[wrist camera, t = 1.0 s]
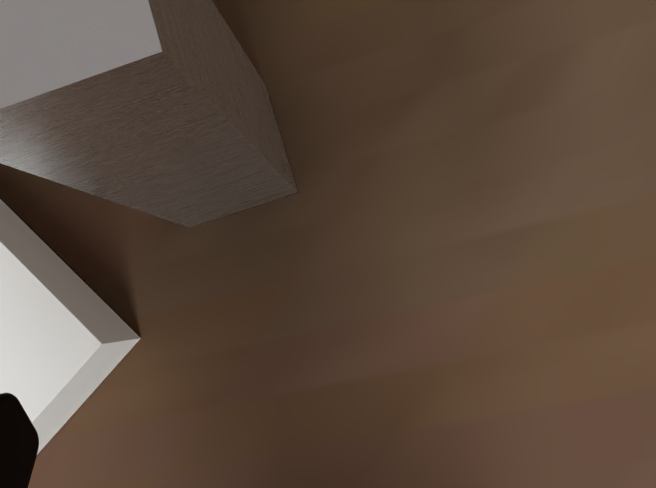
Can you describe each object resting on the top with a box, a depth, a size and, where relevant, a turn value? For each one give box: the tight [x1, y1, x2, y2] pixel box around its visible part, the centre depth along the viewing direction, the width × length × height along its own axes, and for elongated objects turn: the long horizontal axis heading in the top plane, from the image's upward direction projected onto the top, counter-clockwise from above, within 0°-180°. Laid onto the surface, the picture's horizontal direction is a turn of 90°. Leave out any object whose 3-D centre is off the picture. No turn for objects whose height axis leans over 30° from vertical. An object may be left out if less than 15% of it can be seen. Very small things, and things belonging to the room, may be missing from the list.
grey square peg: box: [0, 0, 298, 228], centre depth 17 cm, size 4×4×13 cm
